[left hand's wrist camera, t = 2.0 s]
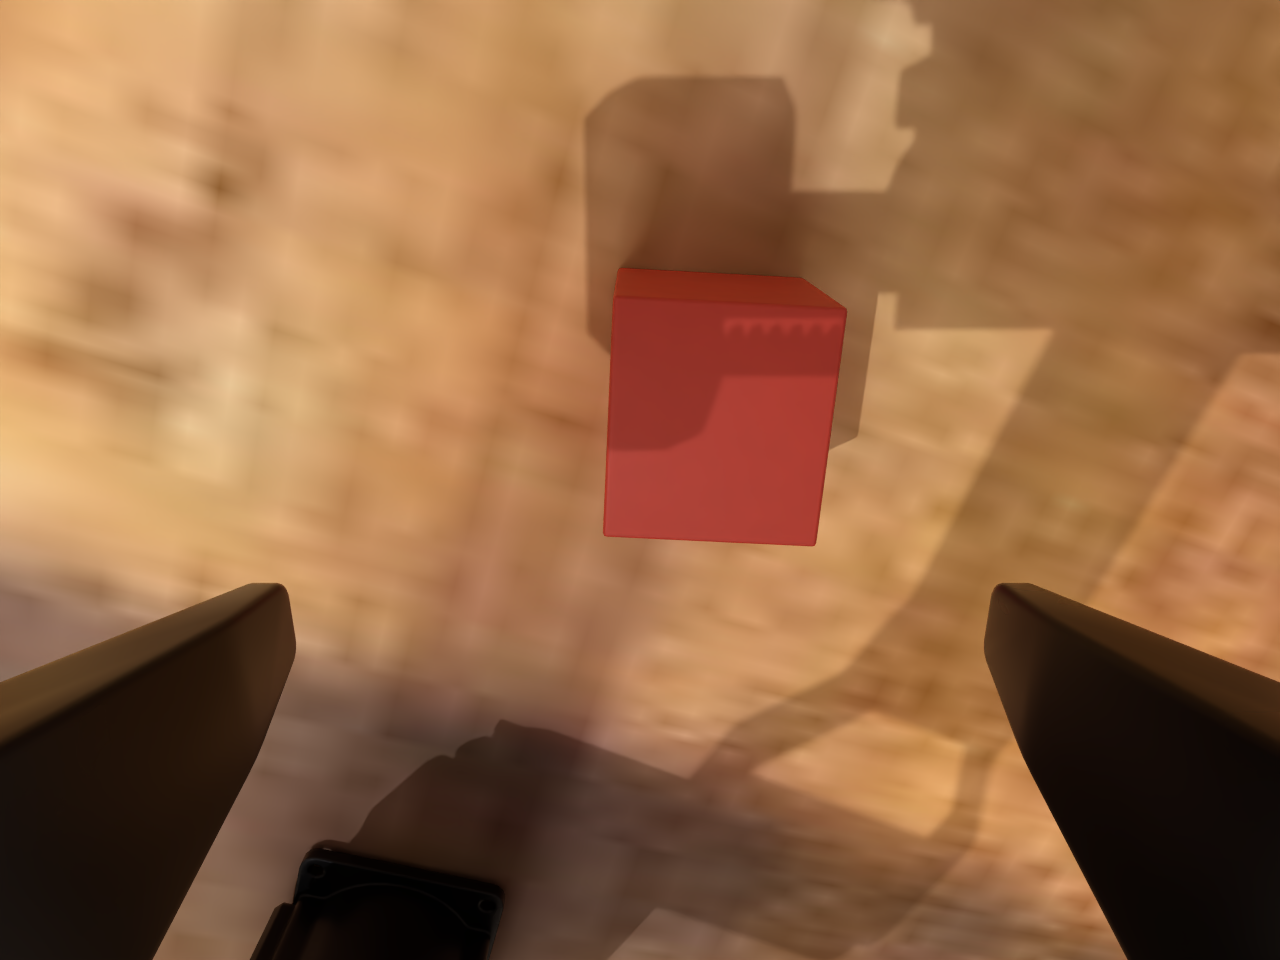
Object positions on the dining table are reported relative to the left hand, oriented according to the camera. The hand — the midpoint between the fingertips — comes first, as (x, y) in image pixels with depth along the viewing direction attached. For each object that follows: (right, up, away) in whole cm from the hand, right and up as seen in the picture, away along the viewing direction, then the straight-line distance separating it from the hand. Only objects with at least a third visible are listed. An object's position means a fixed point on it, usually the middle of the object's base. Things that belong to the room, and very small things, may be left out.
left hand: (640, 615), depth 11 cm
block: (+2, +4, +11) cm, 12 cm away
